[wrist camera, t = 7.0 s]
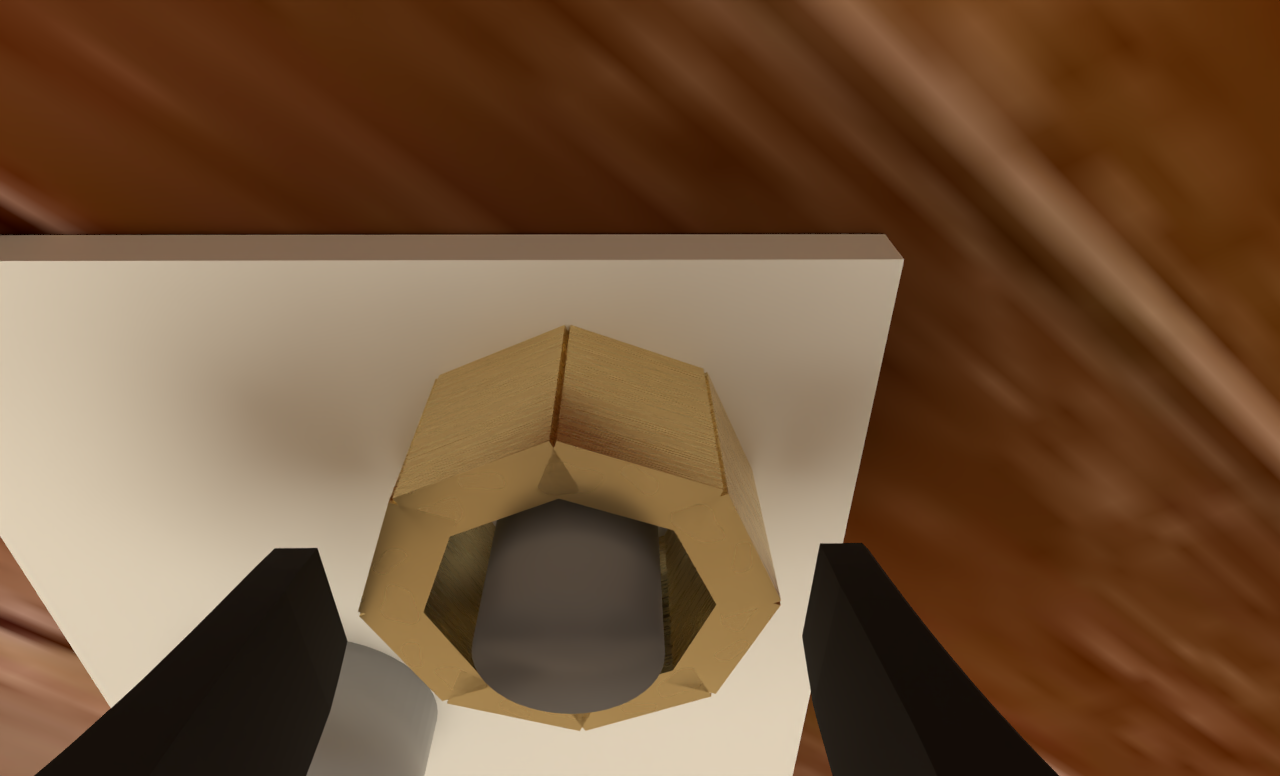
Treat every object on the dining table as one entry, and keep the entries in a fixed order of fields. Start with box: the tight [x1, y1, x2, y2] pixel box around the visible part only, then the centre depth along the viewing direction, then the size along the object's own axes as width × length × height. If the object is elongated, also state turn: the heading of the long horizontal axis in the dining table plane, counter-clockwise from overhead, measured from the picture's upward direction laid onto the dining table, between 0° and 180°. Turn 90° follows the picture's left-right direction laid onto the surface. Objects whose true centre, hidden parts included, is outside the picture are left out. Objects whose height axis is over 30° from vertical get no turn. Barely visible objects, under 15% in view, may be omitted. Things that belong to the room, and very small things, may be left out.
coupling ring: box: [358, 325, 781, 731], centre depth 12 cm, size 6×6×3 cm
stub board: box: [0, 234, 904, 776], centre depth 14 cm, size 16×15×5 cm
